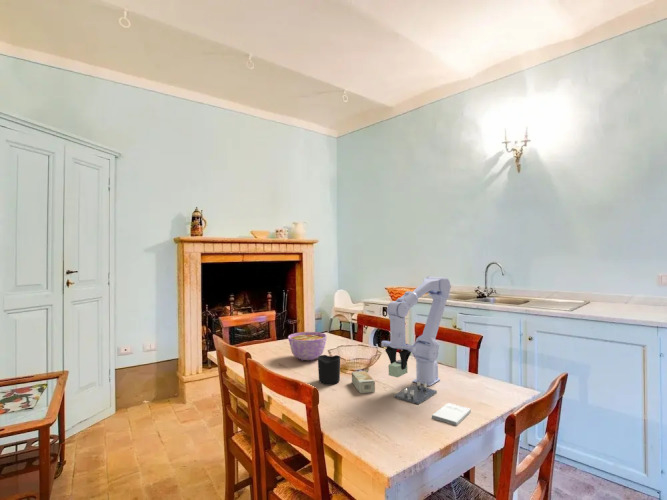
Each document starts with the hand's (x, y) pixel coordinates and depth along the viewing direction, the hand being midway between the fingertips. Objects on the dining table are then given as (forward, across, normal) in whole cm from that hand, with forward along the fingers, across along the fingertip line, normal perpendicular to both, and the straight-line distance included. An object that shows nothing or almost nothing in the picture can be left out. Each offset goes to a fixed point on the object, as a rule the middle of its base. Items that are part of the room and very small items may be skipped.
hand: (398, 367), depth 140 cm
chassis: (+9, +7, 0) cm, 11 cm away
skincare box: (+7, -7, -10) cm, 14 cm away
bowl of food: (+9, -59, +6) cm, 60 cm away
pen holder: (+9, -28, -11) cm, 31 cm away
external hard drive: (+10, +25, -7) cm, 27 cm away
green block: (+2, 0, 0) cm, 2 cm away
